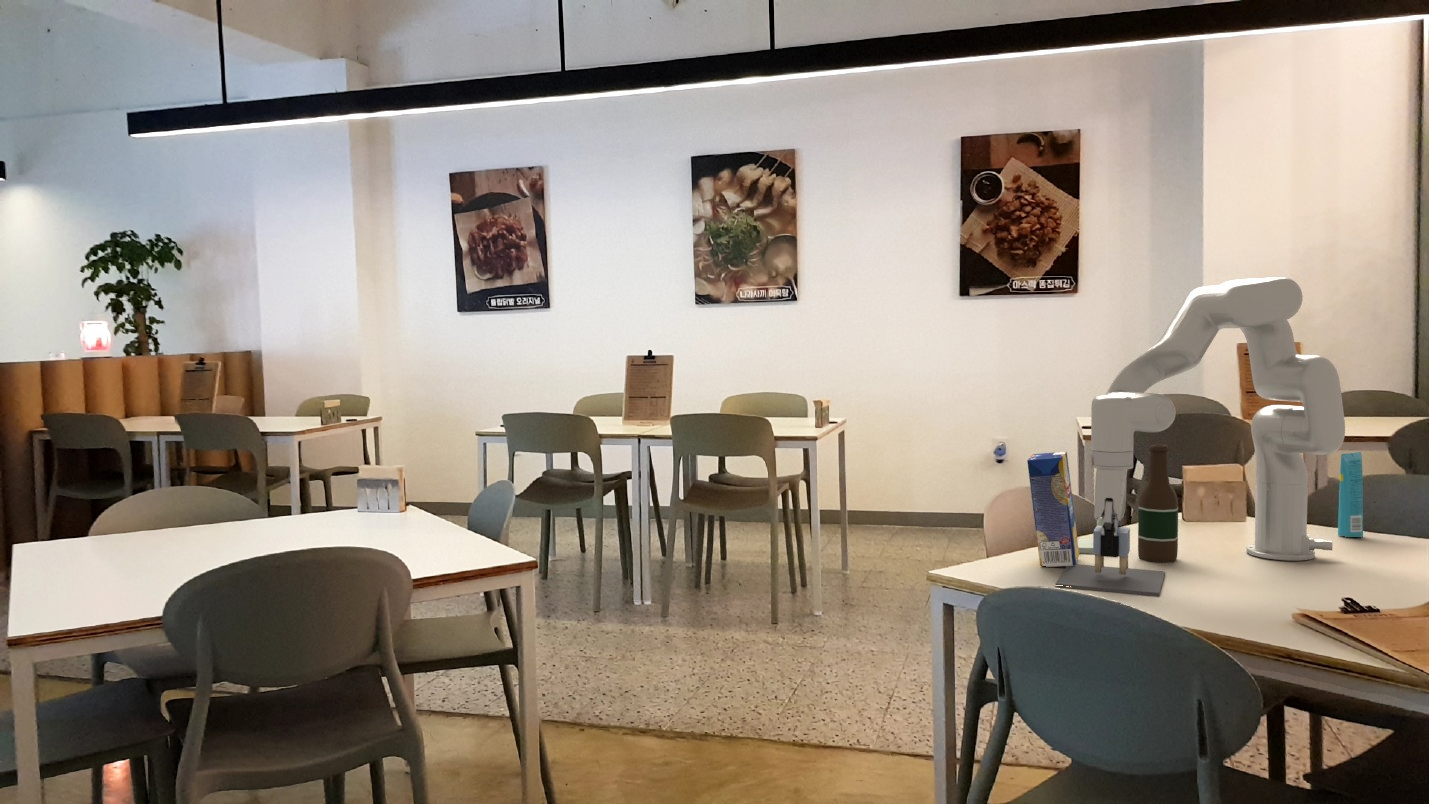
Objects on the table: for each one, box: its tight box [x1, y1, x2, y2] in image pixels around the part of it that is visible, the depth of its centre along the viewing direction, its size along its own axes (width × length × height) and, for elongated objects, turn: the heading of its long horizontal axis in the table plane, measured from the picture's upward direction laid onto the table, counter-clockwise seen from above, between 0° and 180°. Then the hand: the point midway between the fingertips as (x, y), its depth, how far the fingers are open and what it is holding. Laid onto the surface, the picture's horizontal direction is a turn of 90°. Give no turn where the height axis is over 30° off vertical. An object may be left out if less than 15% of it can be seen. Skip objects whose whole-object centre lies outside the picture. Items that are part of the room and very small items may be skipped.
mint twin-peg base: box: [1077, 516, 1102, 554], centre depth 223 cm, size 10×10×6 cm
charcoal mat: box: [1054, 563, 1166, 597], centre depth 195 cm, size 18×18×1 cm
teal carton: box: [1337, 451, 1364, 538], centre depth 230 cm, size 7×5×19 cm, turn 124°
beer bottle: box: [1137, 443, 1179, 564], centre depth 211 cm, size 8×8×24 cm
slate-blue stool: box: [1092, 525, 1131, 575], centre depth 194 cm, size 6×6×8 cm
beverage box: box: [1027, 450, 1080, 568], centre depth 210 cm, size 7×11×22 cm, turn 156°
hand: (1111, 552), depth 195 cm, fingers closed on slate-blue stool, 6 cm apart
